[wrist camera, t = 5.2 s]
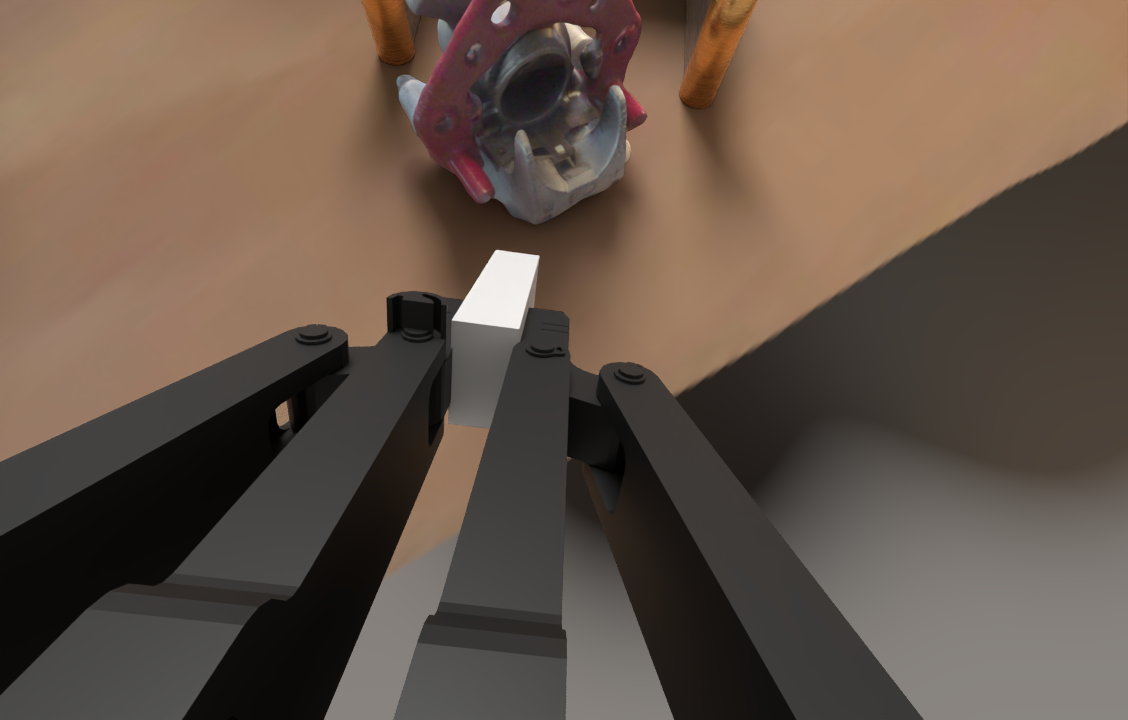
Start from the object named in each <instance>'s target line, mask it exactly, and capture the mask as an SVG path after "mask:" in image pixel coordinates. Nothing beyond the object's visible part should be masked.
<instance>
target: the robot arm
mask: <svg viewBox="0 0 1128 720" xmlns="http://www.w3.org/2000/svg"><path fill="white" fill-rule="evenodd" d="M538 265H539V256H538V255H530V254H523V253H516V252H508V251H501V250H495V252H494V254H493V255H492V257H491V258H490V260H489V262H488V263H487V265H486V266H485V268H484V270H483V271H482V273H481V274H480V276H479V277H478V279H477V281H476V282H475V284H474V285H473V287H472V289H471V290H470V292H469V293H468V295H467V297H466V298H465V300H460V299H452V298H445V297H441V296H439V295H436V294H432V293H427V292H417V291H410V292H400V293H396V294H392V295H390V296H388V297H387V328H388V332H387V333H386V334H385V335H384V337H383V338H382V339H381V340H380V341H379V342H378V343H377V344H376V346H369V347H348V335H347V334H346V333H345V332H344V331H343V330H341V329H338V328H336V327H330V326H326V325H320V324H318V326H316V324H313V325H307V326H305V327H298V328H295V329H292V330H289V331H286V332H284V333H282V334H280V335H278V336H275V337H273V338H271V339H269V340H267V341H264V342H262V343H260V344H258V345H256V346H253V347H251V348H249V349H247V350H245V351H243V352H240V353H238V354H236V355H234V356H232V357H229V358H227V359H225V360H223V361H221V362H218V363H216V364H214V365H212V366H210V367H207V368H205V369H203V370H201V371H199V372H197V373H194V374H192V375H190V376H188V377H186V378H183V379H181V380H179V381H177V382H175V383H172V384H170V385H168V386H166V387H164V388H161V389H159V390H157V391H155V392H153V393H150V394H148V395H146V396H144V397H142V398H140V399H137V400H135V401H133V402H131V403H129V404H126V405H124V406H122V407H120V408H118V409H115V410H113V411H111V412H109V413H107V414H104V415H102V416H100V417H98V418H96V419H93V420H91V421H89V422H87V423H85V424H83V425H80V426H78V427H76V428H74V429H72V430H69V431H67V432H65V433H63V434H61V435H58V436H56V437H54V438H52V439H50V440H47V441H45V442H43V443H41V444H39V445H37V446H34V447H32V448H30V449H28V450H26V451H23V452H21V453H19V454H17V455H15V456H12V457H10V458H8V459H6V460H4V461H1V462H0V720H324V718H325V715H326V713H327V710H328V708H329V706H330V703H331V701H332V699H333V696H334V694H335V692H336V689H337V687H338V684H339V682H340V680H341V677H342V675H343V673H344V670H345V668H346V665H347V663H348V660H349V658H350V656H351V653H352V651H353V649H354V646H355V644H356V641H357V639H358V637H359V634H360V632H361V629H362V627H363V625H364V623H365V620H366V618H367V615H368V613H369V611H370V608H371V606H372V603H373V601H374V599H375V596H376V594H377V592H378V589H379V587H380V584H381V582H382V580H383V577H384V575H385V573H386V570H387V568H388V565H389V563H390V561H391V558H392V556H393V554H394V551H395V549H396V546H397V544H398V542H399V539H400V537H401V535H402V532H403V530H404V527H405V525H406V523H407V520H408V518H409V515H410V513H411V511H412V508H413V506H414V504H415V501H416V499H417V496H418V494H419V492H420V489H421V487H422V485H423V482H424V480H425V477H426V475H427V473H428V470H429V468H430V466H431V463H432V461H433V458H434V456H435V454H436V451H437V449H438V446H439V444H440V442H441V439H442V437H443V433H444V416H445V413H446V411H447V409H448V407H449V417H448V424H456V425H464V426H472V427H481V428H489V429H490V430H489V433H488V437H487V440H486V444H485V447H484V451H483V454H482V458H481V461H480V464H479V468H478V471H477V475H476V478H475V482H474V485H473V489H472V492H471V496H470V499H469V503H468V506H467V510H466V513H465V517H464V520H463V524H462V527H461V530H460V534H459V537H458V541H457V544H456V548H455V552H454V555H453V558H452V562H451V566H450V569H449V572H448V576H447V579H446V583H445V586H444V590H443V593H442V596H441V600H440V603H439V606H438V609H437V612H436V614H435V615H429V616H428V618H427V619H426V621H425V623H424V625H423V628H422V631H421V634H420V636H419V639H418V642H417V645H416V648H415V651H414V655H413V658H412V661H411V664H410V668H409V672H408V674H407V677H406V681H405V684H404V687H403V691H402V693H401V697H400V700H399V703H398V706H397V710H396V713H395V716H394V720H565V713H566V711H565V710H566V666H567V639H566V631H565V630H562V622H561V621H562V620H561V619H562V588H563V587H562V585H563V558H564V529H565V498H566V470H567V468H566V467H567V456H568V457H571V458H574V459H577V460H580V461H582V462H583V465H582V469H583V475H584V478H585V480H586V483H587V486H588V488H589V491H590V494H591V497H592V499H593V502H594V505H595V507H596V510H597V513H598V515H599V518H600V521H601V523H602V526H603V529H604V532H605V534H606V537H607V540H608V542H609V545H610V548H611V551H612V553H613V556H614V559H615V561H616V564H617V567H618V569H619V572H620V575H621V577H622V580H623V583H624V586H625V588H626V591H627V594H628V596H629V599H630V602H631V604H632V607H633V610H634V612H635V615H636V618H637V621H638V623H639V626H640V629H641V631H642V634H643V637H644V639H645V642H646V645H647V648H648V650H649V653H650V656H651V658H652V661H653V664H654V666H655V669H656V672H657V675H658V677H659V680H660V683H661V685H662V688H663V691H664V693H665V696H666V699H667V702H668V704H669V707H670V710H671V712H672V715H673V718H674V720H923V718H922V717H921V716H920V714H919V713H918V712H917V710H916V709H915V708H914V707H913V705H912V704H911V703H910V701H909V700H908V699H907V698H906V696H905V695H904V694H903V692H902V691H901V690H900V689H899V687H898V686H897V685H896V683H895V682H894V681H893V680H892V678H891V677H890V676H889V674H888V673H887V672H886V670H885V669H884V668H883V667H882V665H881V664H880V663H879V661H878V660H877V659H876V658H875V656H874V655H873V654H872V652H871V651H870V650H869V649H868V647H867V646H866V645H865V644H864V642H863V641H862V639H861V638H860V637H859V636H858V634H857V633H856V632H855V631H854V629H853V628H852V627H851V625H850V624H849V623H848V621H847V620H846V619H845V618H844V616H843V615H842V614H841V612H840V611H839V610H838V608H837V607H836V606H835V605H834V603H833V602H832V601H831V599H830V598H829V597H828V596H827V594H826V593H825V592H824V590H823V589H822V588H821V587H820V585H819V584H818V583H817V581H816V580H815V579H814V578H813V576H812V575H811V574H810V572H809V571H808V570H807V568H806V567H805V566H804V565H803V563H802V562H801V561H800V559H799V558H798V557H797V556H796V554H795V553H794V552H793V550H792V549H791V548H790V547H789V545H788V544H787V543H786V541H785V540H784V539H783V538H782V536H781V535H780V534H779V532H778V531H777V530H776V528H775V527H774V526H773V525H772V523H771V522H770V521H769V520H768V518H767V517H766V516H765V514H764V513H763V512H762V510H761V509H760V508H759V507H758V505H757V504H756V503H755V501H754V500H753V499H752V497H751V496H750V495H749V494H748V492H747V491H746V490H745V488H744V487H743V486H742V485H741V483H740V482H739V481H738V479H737V478H736V477H735V476H734V474H733V473H732V472H731V470H730V469H729V468H728V467H727V465H726V464H725V463H724V461H723V460H722V459H721V457H720V456H719V455H718V454H717V453H716V451H715V450H714V448H713V447H712V446H711V445H710V443H709V442H708V441H707V439H706V438H705V437H704V435H703V434H702V433H701V432H700V430H699V429H698V428H697V426H696V425H695V424H694V423H693V421H692V420H691V419H690V418H689V416H688V415H687V414H686V412H685V411H684V410H683V409H682V407H681V406H680V405H679V403H678V402H677V401H676V399H675V398H674V397H673V395H672V394H671V393H670V392H669V390H668V389H667V388H666V386H665V385H664V384H663V383H662V381H661V380H660V379H659V377H658V376H657V375H655V374H654V373H653V372H652V371H650V370H648V369H646V368H644V367H643V366H641V365H639V364H636V365H635V363H631V362H627V363H623V362H617V363H609V364H607V365H604V366H603V367H602V368H601V370H600V373H599V376H598V375H595V374H591V373H589V372H586V371H583V370H581V369H579V368H578V367H576V366H575V365H573V364H572V363H571V361H570V353H569V350H568V343H569V318H568V317H567V316H566V315H565V314H564V313H563V312H561V311H553V310H546V309H538V308H534V302H535V293H536V284H537V274H538ZM286 400H287V406H288V414H289V421H288V422H287V423H285V424H284V425H282V426H280V427H279V426H278V424H277V419H276V412H275V409H276V408H277V407H278V406H279V405H280V404H282V403H283V402H285V401H286Z"/></svg>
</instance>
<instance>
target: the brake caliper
mask: <svg viewBox="0 0 1128 720" xmlns="http://www.w3.org/2000/svg"><path fill="white" fill-rule="evenodd" d="M405 1H406V3H407V5H408V6H409V8H410V10H411V11H412V12H413V13H414V14H416V15H423V16H428V17H432V18H436V19H439V22H438V27H437V31H438V39H439V44H440V47H441V49H442V51H443V55H442V56H441V57H440V58H439V60H438V61H437V63H436V66H435V68H434V70H433V73H432V75H431V77H430V79H429V80H428V82H427V84H425V83H422V82H420V81H419V80H417V79H415V78H414V77H412V76H410V75H401V76H399V77H398V79H397V82H396V83H397V88H398V91H399V101H400V104H401V106H402V108H403V110H404V111H405V112H406V114H407V116H408V117H409V120H410V122H411V124H412V127H413V129H414V131H415V133H416V134H417V135H418V137H419V138H420V139H421V141H422V142H423V143H424V145H425V146H426V148H427V150H428V152H429V155H430V156H431V158H432V159H434V161H436V162H437V163H438V164H439V165H440V166H442V167H443V168H445V169H446V170H448V171H450V172H452V173H454V174H456V175H457V177H458V178H459V179H460V181H461V182H462V184H463V186H464V187H465V189H466V190H467V192H468V193H469V195H470V196H471V197H472V198H473V200H474V201H476V202H477V203H479V204H483V203H486V202H487V201H489V200H490V199H491V198H495V199H497V200H498V201H500V202H501V203H502V204H503V205H504V206H505V207H506V208H507V210H508V212H509V213H510V214H511V215H512V216H513V217H515V218H518V219H522V220H525V221H528V222H530V223H532V224H540V223H543V222H545V221H547V220H549V219H551V218H553V217H555V216H557V215H559V214H561V213H562V212H564V211H566V210H567V209H569V208H570V207H572V206H573V205H575V204H576V203H577V202H579V201H580V200H582V199H584V198H587V197H590V196H593V195H595V194H597V193H599V192H601V191H604V190H606V189H608V188H609V187H610V186H612V185H613V184H615V183H616V182H617V181H619V180H620V179H621V178H622V177H623V176H624V174H625V163H626V162H627V161H628V160H629V159H630V152H631V148H630V144H629V142H628V141H627V140H626V132H628V131H630V130H632V129H634V128H635V127H637V126H639V125H641V124H643V123H644V121H645V120H646V118H647V113H646V112H645V110H644V109H643V107H642V106H641V105H640V104H639V103H638V102H637V100H636V99H635V98H634V97H633V96H632V95H631V94H630V93H629V92H628V91H627V90H626V89H625V88H624V87H623V81H624V78H625V72H626V69H627V65H628V63H629V60H630V59H631V57H632V55H633V52H634V50H635V48H636V45H637V43H638V41H639V37H640V33H641V18H640V15H639V14H638V12H637V11H636V9H635V7H634V4H633V2H632V0H598V1H597V2H596V3H595V4H594V5H593V6H591V7H590V5H591V3H592V1H593V0H405ZM579 26H581V27H592V28H594V29H595V30H596V36H595V38H594V39H592V38H591V37H589V36H588V35H587V34H585V33H584V31H583V30H582V29H581V28H580V27H579Z"/></svg>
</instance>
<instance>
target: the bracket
mask: <svg viewBox="0 0 1128 720" xmlns="http://www.w3.org/2000/svg"><path fill="white" fill-rule="evenodd" d="M756 2H757V0H686V31H685V62H684V79H683V81H682V84H681V87H680V90H679V95H680V98H681V100H682V101H683V102H684V103H685V104H687V105H688V106H690V107H693V108H705V107H708V106H709V105H710V104H711V103H712V102H713V100H714V97H715V95H716V93H717V91H718V88H719V86H720V84H721V81H722V79H723V77H724V75H725V72H726V70H727V68H728V66H729V63H730V61H731V59H732V57H733V54H734V52H735V50H736V48H737V45H738V43H739V41H740V39H741V36H742V34H743V32H744V29H745V27H746V25H747V23H748V20H749V18H750V16H751V14H752V11H753V9H754V7H755V5H756ZM362 3H363V7H364V10H365V13H366V16H367V19H368V22H369V26H370V29H371V32H372V35H373V38H374V42H375V45H376V48H377V51H378V54H379V57H380V58H381V59H382V60H383V61H384V62H386V63H388V64H391V65H402V64H405V63H407V62H409V61H410V60H411V59H412V58H413V57H414V55H415V48H414V44H413V42H414V38H415V34H416V31H417V27H418V24H419V20H420V16H421V15H416V14H414V13H413V12H412V11H411V10H410V8H409V6H408V5H407V3H406V1H405V0H362Z"/></svg>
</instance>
